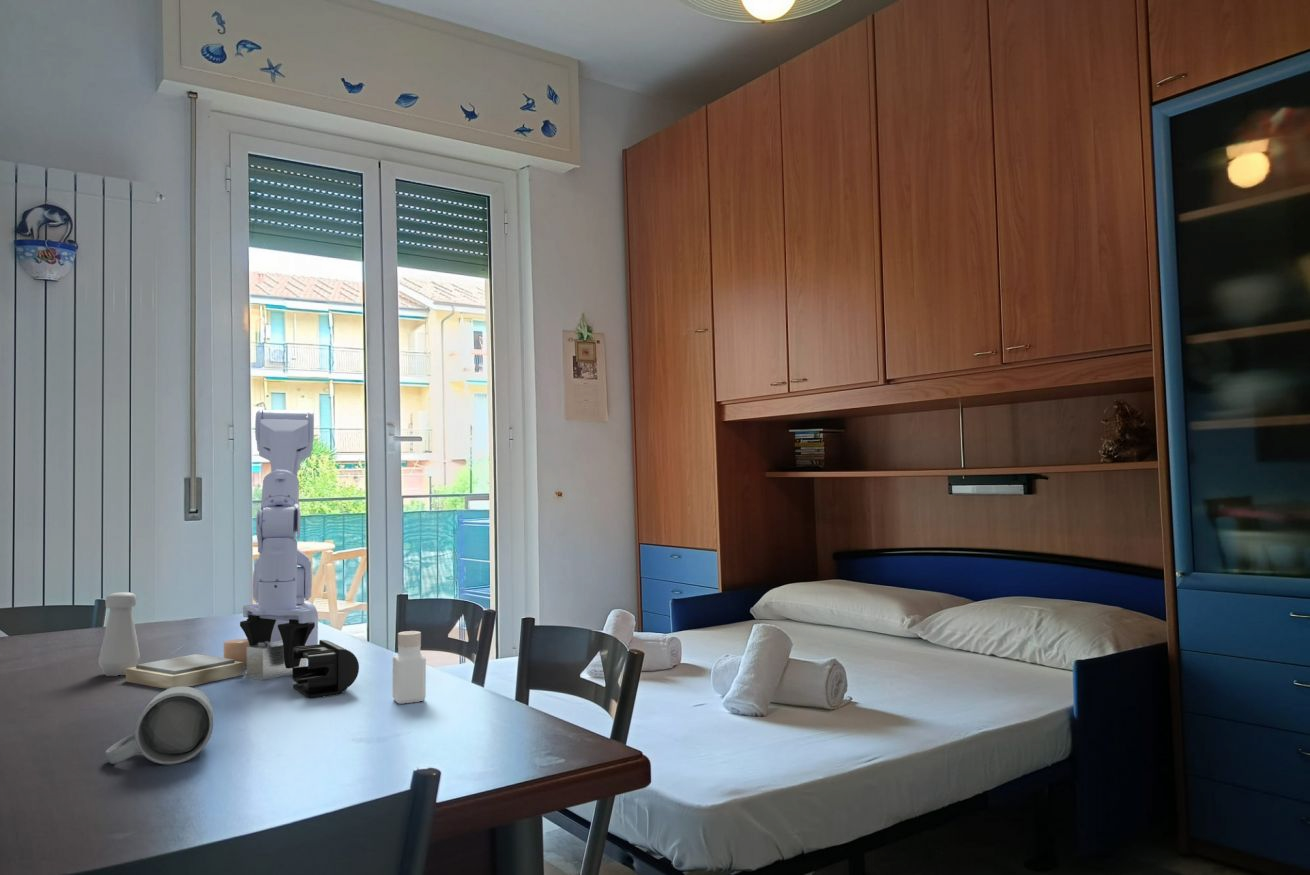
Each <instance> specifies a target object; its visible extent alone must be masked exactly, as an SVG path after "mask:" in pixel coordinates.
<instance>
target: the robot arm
mask: <svg viewBox="0 0 1310 875" xmlns="http://www.w3.org/2000/svg"><path fill="white" fill-rule="evenodd" d="M254 421H255V424H254V428H255V430H254V431H255V432H254V433H255V435H254V436H255V437H254V438H255V441H256V448H257V452H258V455H259V457H261V458H263V459H265V460H267V461H269V463H270V472H269V473H267V474H266V475H265V476H264V477H263V480H262V488H261V489H262V490H261V503H260V510H259V509H257V512H256V520H255V522H256V523H255V531H256V533H255V534H256V539H257V552H258V553H259V556H258V557H257V558H256V561H254V564H253V565H254V566H253V567H254V568H253V573H252V600H253V601H254V604H246V605H245V604H244V605H243V607H242V618H246V620H241V621H239V626H240V628H241V629H242V631H243V634H244V635H245V636H246V639H248V642H249V645H250V646H252V645H258V642H263V641H268V642H275V641H280V640H282V641H283V647H284V662H285V667H286V668H288V669H289V668H294V667H299V664H300V660H301V659H294V660H293V648H295V647H299V646H305V644H306V646H309V645H318V644H319V640H318V639H319V638H318V636H319V614H318V611H317V608H316V606H315V605H314V604H313V602H311V601H309V600H310V599H311V598H312V584H313V583H312V581H313V580H312V579H313V577H312V576H313V574H312V572H313V570H312V560H311V559H310V556H308V554H306V553H305V552H303V551H301V550H300V549H298V541H299V540H300V537H301V526H302V525H301V523H302V522H301V521H302V520H301V519H302V518H301V509H300V502H299V497H300V495H299V494H300V480H299V477H298V472H299V469H300V466H301V464H302V461H304V460H306V459H307V458H311V457H312V452H313V451H314V450H313V449H314V448H313V447H314V431H315V429H314V428H315V427H314V426H315V415H314V412H313V411H312V410H311V409H309V410H273V409H271V410H269V409H268V410H265V409H264V410H263V409H262V408H261V409H260V408H259V409H258V410H257V411H256V413H255V420H254ZM255 603H256V604H255Z"/></svg>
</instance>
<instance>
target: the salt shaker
mask: <svg viewBox="0 0 1310 875" xmlns="http://www.w3.org/2000/svg"><path fill="white" fill-rule="evenodd" d="M136 596H137V595H136V594H135V593H133V592H128V591H124V592H121V591H120V592H113V593H109V594H108V595H107V596H106V598H105V603H104V604H105V607H106V609H109V613H108V618H107V623H106V627H105V632H104V635H103V640H102V644H101V648H100V652H99V656H98V661H97V662H98V664H99V667H100V668H101V670H102V671H103V673H104V675H105V677H119V676H118V675H121V676H126V669H127V668H132V667H136V665H138V663H139V661H140V657H141V654H140V649H139V643H138V637H137V631H136V626H135V620H134V619H135V618H134V613H133V607H136V604H137V597H136Z"/></svg>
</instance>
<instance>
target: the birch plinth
mask: <svg viewBox="0 0 1310 875" xmlns="http://www.w3.org/2000/svg"><path fill="white" fill-rule="evenodd" d="M244 675H245V667H244V662H239V661H235V660H234V659H227V658H223V657H220V656H219V657H218V656H214V655H213V656H211V655H205V654H197V653H194V654H189V655H185V656H184V655H183V656H177V657H172V658H165V659H161V660H156V661H151V662H145V663H139V664H137V665H136V667H132V668H127V669H126V675H125V683H131V684H136V685H144V686H148V687H153V688H160V689H164V690H167V689H169V688H173V687H179V686H185V687H193V686H197V685H202V684H203V685H204V684H207V683H211V682H217V681H222V680H225V679H227V680H228V679H231V678H236V677H240V676H244Z"/></svg>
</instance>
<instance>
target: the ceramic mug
mask: <svg viewBox="0 0 1310 875" xmlns="http://www.w3.org/2000/svg"><path fill="white" fill-rule="evenodd" d="M135 725H136V726H135V729H134V733H131V734H130V735H127V736H126V737H124V738H122V739H121V740H119V741H118V742H115V743H114V744H113V745H111V746H109V748H107V749H106V750H105V755H106V757H107V760H108V761H109V764H111V765H114V764H119V763H122V762H123V761H124V762H125V761H126V760H129V759H131V758H133V757H135V756H136V755H139V754H141V755H143V756H144V757H145V759H147V760H148V761H150V762H153V763H154V764H155V763H156V764H158V765H165V766H167V765H168V766H171V765H179V764H181V763H184V762H185V763H186V762H187V761H190V760H192V759H193V758H195V757H196V756H197V755H199V753H200V752H202V750H204V748H205V747H206V746H207V744H208V743H209V741H210V739H211V737H212V734H213V729H214V710H213V706H212V704H211V701H210V700H209V698H208V697H207V696H206V694H204V692H202V691H200V690H199V689H196V688H194V687H192V686H189V687H185V686H179V687H173V688H169V689H164V691H161V692H160V693H158V694H157V695H156V696H155V697H153V698H152V700H151V701H150V702H149V703H148V704H147V705H146V707H145V708H144V710H143V711H142V712H141V714H140V715H139V717H138V719H137V721H136V724H135Z"/></svg>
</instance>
